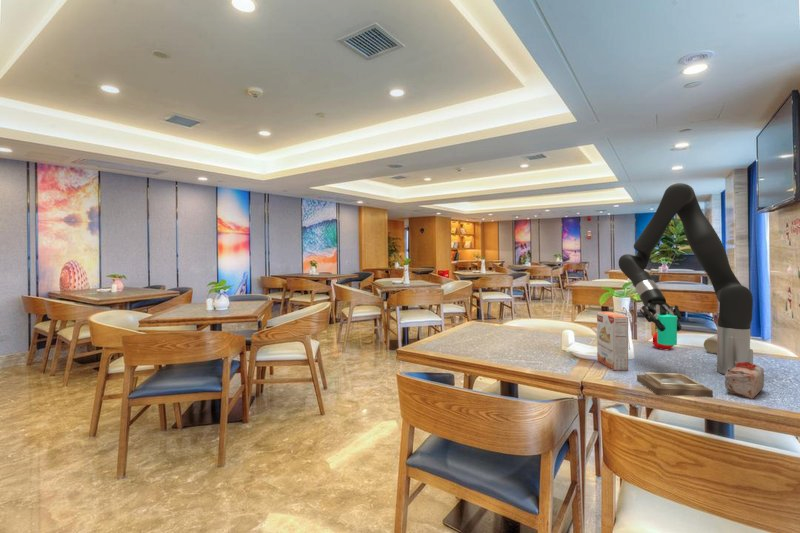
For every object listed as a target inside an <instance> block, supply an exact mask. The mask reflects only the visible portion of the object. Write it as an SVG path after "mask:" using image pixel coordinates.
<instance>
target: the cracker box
mask: <svg viewBox="0 0 800 533" xmlns="http://www.w3.org/2000/svg"><path fill="white" fill-rule="evenodd" d="M596 314H597V315H596V319H597V320H596V324H597V326H596V329H597V330H596V332H597V333H596V340H597V343H596V345H597V346H596V347H597V349H596V350H597V351H596V352H597V353H596V354H597V356H596V358H597V361H598V362H599V363H601V364H603V365H604V366H606V367H607V368H609V369H610V370H612V371H617V372H618V371H629V317H628V316H626V315H625V316H624V315H622V314H619V313H616V312H613V311H597V312H596Z"/></svg>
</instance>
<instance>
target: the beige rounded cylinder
mask: <svg viewBox="0 0 800 533" xmlns="http://www.w3.org/2000/svg"><path fill="white" fill-rule="evenodd" d="M703 347H704V349H705V351H706V352H708V353H710V354H713V353H714V354H715V355H717V334H715V335H712V336H710V337H707V338H706V339H705V340H704V342H703Z"/></svg>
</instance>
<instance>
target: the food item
mask: <svg viewBox="0 0 800 533" xmlns="http://www.w3.org/2000/svg"><path fill="white" fill-rule="evenodd" d="M735 364H736V367H734V368H733V369H731V370H730V368H728V369H727V372H726V374H724V379H725V380H724V387H725V390H726V391H727V392H729V394H733V395H735V396H740V397H742V398H747V399H754V398H755V397H756V396H757V395H758V394H759V393H760V392H761V391H762V390H763V388H764V385H765V379H764V376H765V375H764V372H765V371H764V368H763V367H762V366H760V365H757V364H754V363H753V364H751V363H749V362H744V363H743V362H742V363H738V362H737V361H735ZM729 370H730V371H729Z"/></svg>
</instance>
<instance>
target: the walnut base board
mask: <svg viewBox="0 0 800 533" xmlns="http://www.w3.org/2000/svg"><path fill="white" fill-rule="evenodd" d="M636 381H637V382H639V383H640V384H641V385H643V386H644V387H645V386H646V388H647V389H648V388H649V389H648V390H650V389H651V390H652V391H653V392H652V391H651V390H650V391H651V392H652V393H654V394H655V395H658V396H659V395H661V396H679V395H695V396H694V397H702V396H707V398H713V396H714V392H713V391H714V390H712V389H710V388H709V387H707V386H706V385H704V384H702V383H701V382H699V381H696V380H695V379H693V378H691V377H689V376H687V375H686V374H684V373H674V372H673V373H672V372H671V373H670V372H669V373H668V372H667V373H666V372H644V374H636ZM667 394H668V395H667ZM669 394H670V395H669Z"/></svg>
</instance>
